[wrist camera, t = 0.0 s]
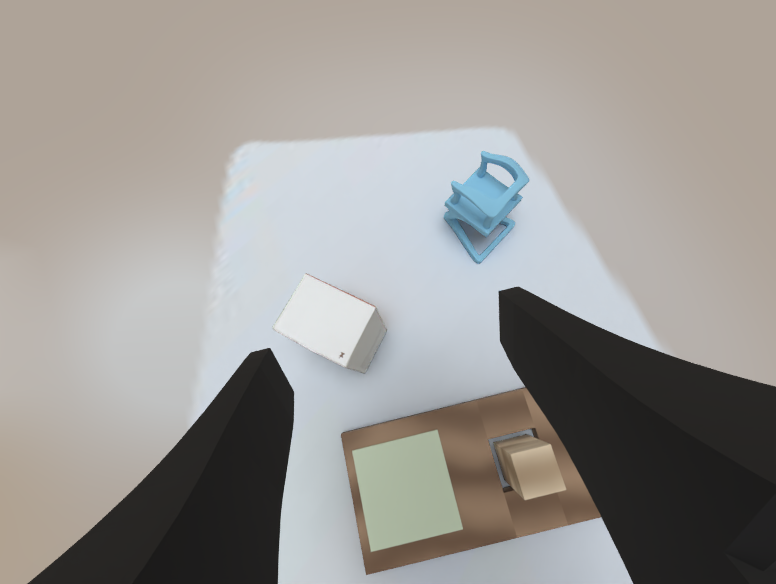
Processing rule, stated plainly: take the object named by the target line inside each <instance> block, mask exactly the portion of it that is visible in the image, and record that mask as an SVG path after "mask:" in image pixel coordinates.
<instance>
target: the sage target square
mask: <svg viewBox="0 0 776 584" xmlns="http://www.w3.org/2000/svg"><path fill="white" fill-rule="evenodd" d="M352 453H353V458H354V464H355V469H356V474H357V480H358V485H359V490H360V496H361V501H362V506H363V512H364V517H365V522H366V528H367V533H368V538H369V544H370V549H371V552H373V551H377V550H381V549H385V548H389V547H394V546H398V545H402V544H406V543H410V542H414V541H418V540H422V539H426V538H430V537H434V536H438V535H442V534H446V533H450V532H454V531H458V530H462V529H463V527H462V523H461V519H460V515H459V511H458V507H457V503H456V500H455V496H454V492H453V488H452V484H451V480H450V476H449V473H448V469H447V465H446V461H445V457H444V453H443V449H442V446H441V442H440V438H439V434H438V430H433V431H429V432H425V433H421V434H417V435H413V436H409V437H405V438H401V439H397V440H393V441H388V442H384V443H380V444H376V445H372V446H368V447H364V448H360V449H356V450H352Z"/></svg>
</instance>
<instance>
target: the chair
mask: <svg viewBox="0 0 776 584" xmlns="http://www.w3.org/2000/svg"><path fill="white" fill-rule="evenodd" d="M481 157H482V162H481V166H480V167H479V168H478V169H477V170H476V171H475V172H474V173H473V174H472V176H471V177H470V178H469V179H468V180H467V181H466V182H465V183H464V184H463V185H462V184H460V183H458V182H455V181H452V182H451V185H452V190H453V192H454V194H453V195H452V196H451V197H450V198H449V199H448V200H447V201H446V202H445V206H446V207H447V208H448V209H449V211H448V212H446V213H445V215H444V219H445V220H446V221H447V222H448V224H449V225H450V226H451V228H452V229H453V230H454V232H455V233H456V235H457V236H458V238H459V240H460V241H461V243H462V244H463V246H464V247H465V249H466V250H467V252H468V253H469V255H470V256H471V258H472V259H473V260H474V261H475V262H476V263H478V264H479V263H481V262H482V261H483V260H484V258H485V257H486V256H487V255H488V254H489V253H490V252H491V251H492V250H493V249H494V248H495V246H496V245H497V244H498V243H499V242H500V241H501V240H502V239H503V238H504V237H505V236H506V235H507V233H508V232H509V231H510V230H511V229H512V228H513V227H514V225H515V222H514V221H513V220H511V219H509V218H507V217H506V216H507V215H508V214H509V213H510V212H511V211H512V209H513V208H514V207H515V206H516V205H517V204H518V203H519V202H520V201H521V199H522V196H520V195H519V194H518V192H519V191H520V190H521V189H522V188H523V187H524V186H525V185H526V184H527V183H528V182H529V178H528V176H527V175H526V173H525V172H524V171H523V169H522V168H521V167H520V165H519V164H518V163H517V162H516V161H514V160H513V159H511V158H509V157H506V156H502V155H495V154H490V153H488V152H485V151H482V152H481ZM487 163H492V164H496V165H499V166H501V167H503V168H505V169H506V170H507V171H508V172H509V173H510V174H511V175H512V177H513V178H514V180H515V182H514V183H513V184H512V185H511V186H510V187H509V188H508V187H507V186H505V185H504V184H502V183H501V182H500V181H498V180H497V179H495V178H494V177H493V176H492V175H490V174H489V173H488V172H486V169H487ZM457 219H460V220H462V221H464V222H466V223H468V224H469V225H471V226H472V227H474V228H475V229H476V230H477V231H478V232H480V233H481V234H482V235H484V236H485V237H487V236H488V235H489V234H490V233H491V232H492V231H493V230H494V229H495V228H496V226H497V225H498V224H499V223H500V224H503V225H506V226H507V228H506V229H505V230H504V231H503V232H502V233H501V234H500V235H499V236H498V237H497V238H496V239H495V240H494V241H493V242H492V243H491V244H490V245H489V246H488V247H487V248H486V249H485V251H484V252H483V253H482V254H481V255H478V254H477V252H476V251H475V249H474V247H473V246H472V244H471V242H470V240H469V239H468V237H467V235H466V234H465V232H464V230H463V229H462V227H461V225H460V224H459V222H458V221H457Z"/></svg>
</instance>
